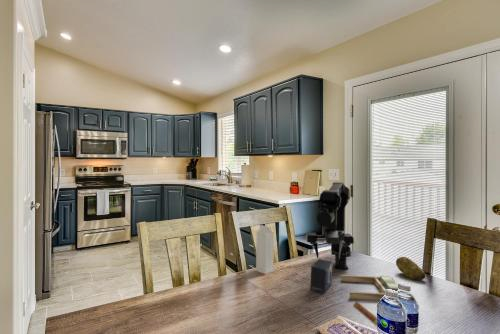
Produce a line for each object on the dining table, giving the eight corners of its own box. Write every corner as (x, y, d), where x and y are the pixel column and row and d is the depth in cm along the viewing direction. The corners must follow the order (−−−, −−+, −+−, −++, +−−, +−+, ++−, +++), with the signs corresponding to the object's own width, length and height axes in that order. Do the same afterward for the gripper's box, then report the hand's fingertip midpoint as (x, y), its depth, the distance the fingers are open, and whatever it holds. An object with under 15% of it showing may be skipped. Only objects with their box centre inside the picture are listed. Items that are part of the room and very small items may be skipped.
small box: (325, 294, 118) (325, 269, 118) (309, 290, 122) (310, 265, 121) (332, 284, 127) (332, 261, 127) (317, 281, 131) (318, 258, 130)
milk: (265, 274, 138) (265, 228, 137) (255, 270, 142) (256, 226, 141) (273, 270, 142) (274, 226, 141) (263, 267, 146) (264, 223, 145)
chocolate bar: (373, 324, 98) (374, 318, 98) (352, 306, 110) (352, 301, 110) (380, 323, 99) (380, 317, 99) (358, 306, 110) (358, 300, 110)
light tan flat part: (341, 280, 132) (341, 271, 132) (391, 282, 130) (392, 274, 129) (350, 298, 115) (350, 288, 115) (408, 302, 113) (409, 291, 113)
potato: (410, 282, 130) (411, 265, 130) (392, 271, 143) (393, 255, 142) (427, 281, 131) (428, 264, 131) (408, 270, 144) (408, 254, 144)
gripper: (309, 225, 114) (308, 264, 114) (358, 226, 112) (357, 266, 113) (305, 219, 125) (305, 255, 125) (350, 220, 123) (349, 256, 124)
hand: (328, 258), depth 122 cm, fingers open, 9 cm apart
